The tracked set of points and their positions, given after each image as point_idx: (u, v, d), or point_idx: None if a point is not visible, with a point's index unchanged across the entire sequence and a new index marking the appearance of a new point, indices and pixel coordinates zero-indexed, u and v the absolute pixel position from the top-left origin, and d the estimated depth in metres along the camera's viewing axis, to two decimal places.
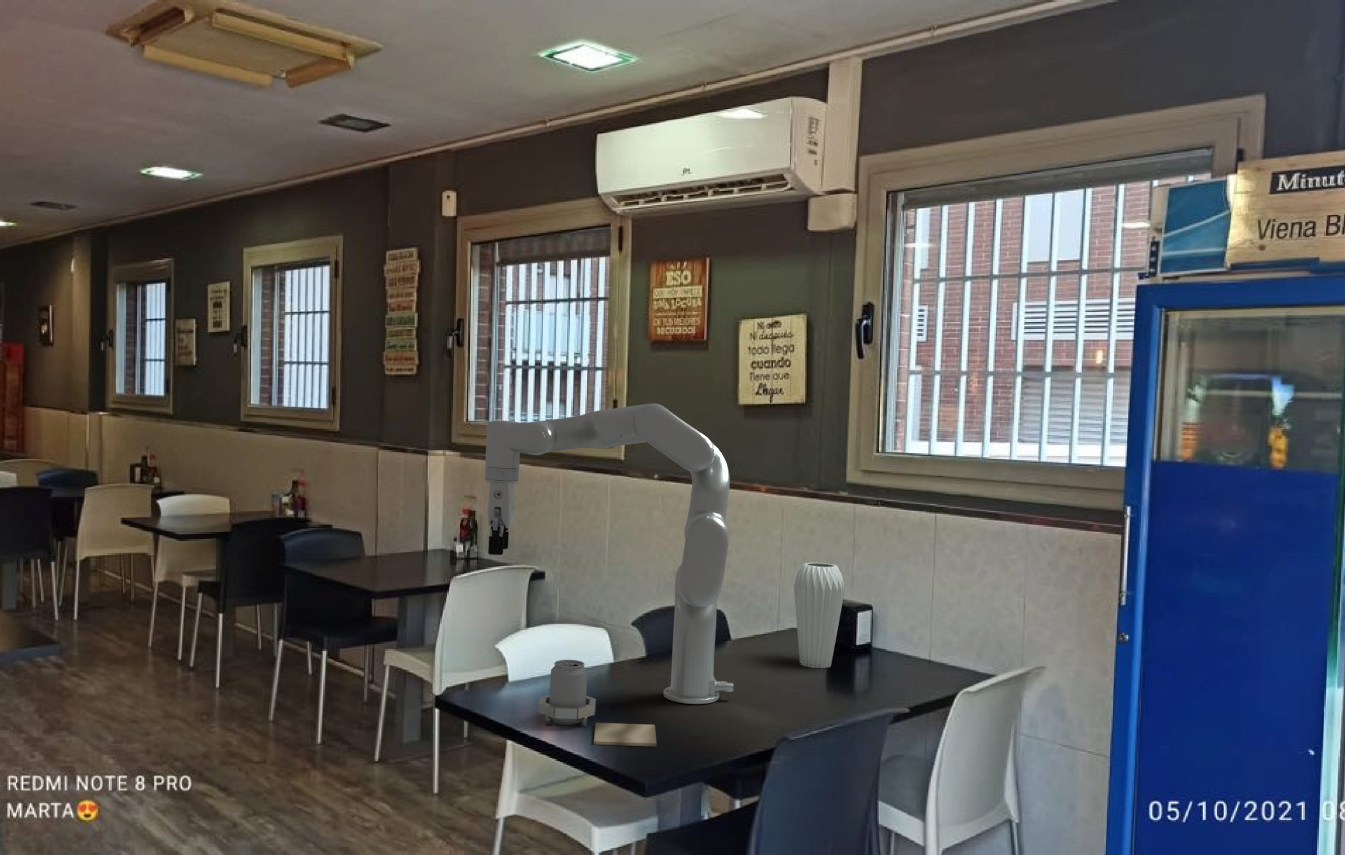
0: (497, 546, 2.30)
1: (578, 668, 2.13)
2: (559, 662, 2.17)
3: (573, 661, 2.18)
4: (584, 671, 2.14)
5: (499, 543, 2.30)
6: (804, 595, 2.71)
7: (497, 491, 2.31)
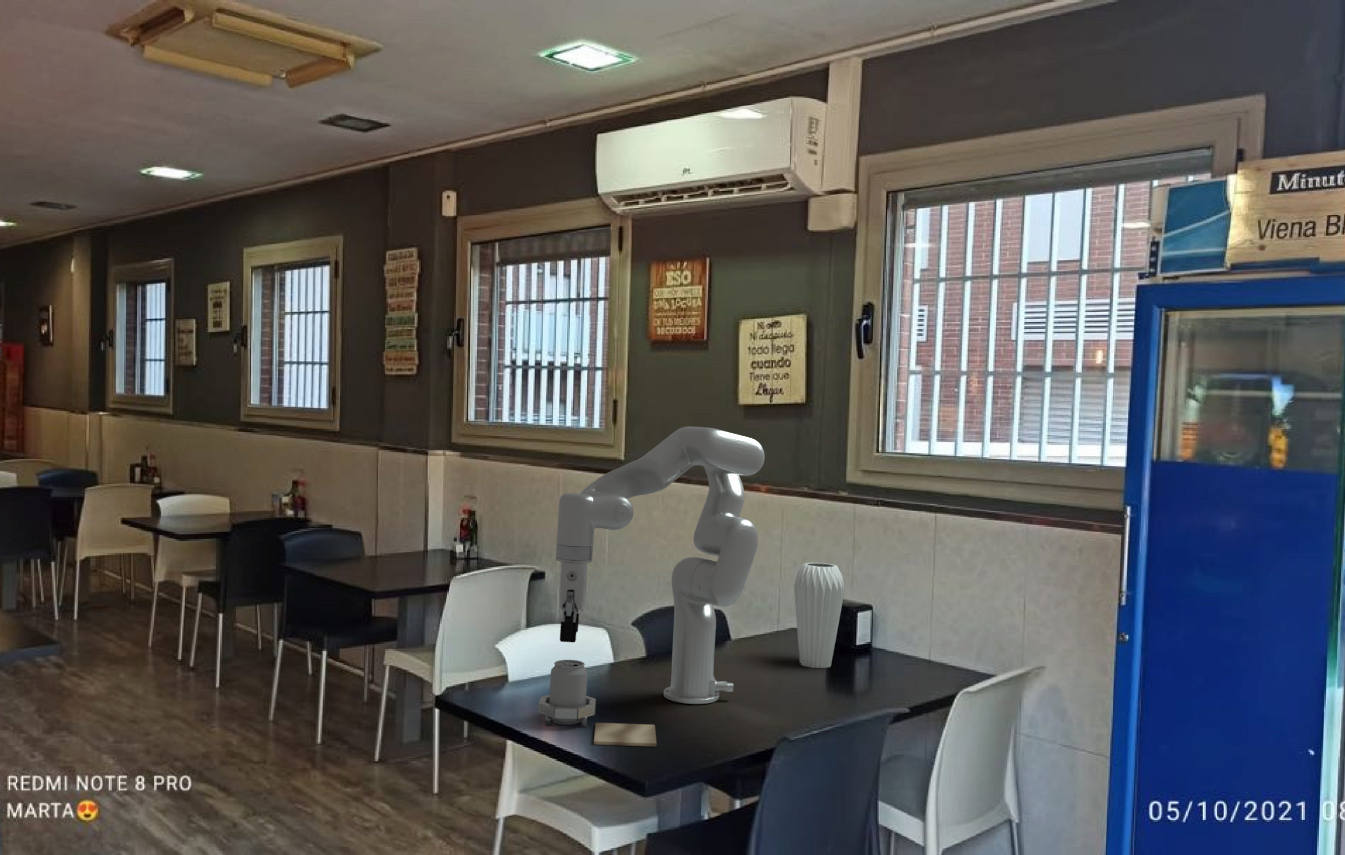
0: (570, 633, 2.09)
1: (578, 668, 2.13)
2: (559, 662, 2.17)
3: (573, 661, 2.18)
4: (584, 671, 2.14)
5: (572, 629, 2.10)
6: (804, 595, 2.71)
7: (570, 572, 2.11)
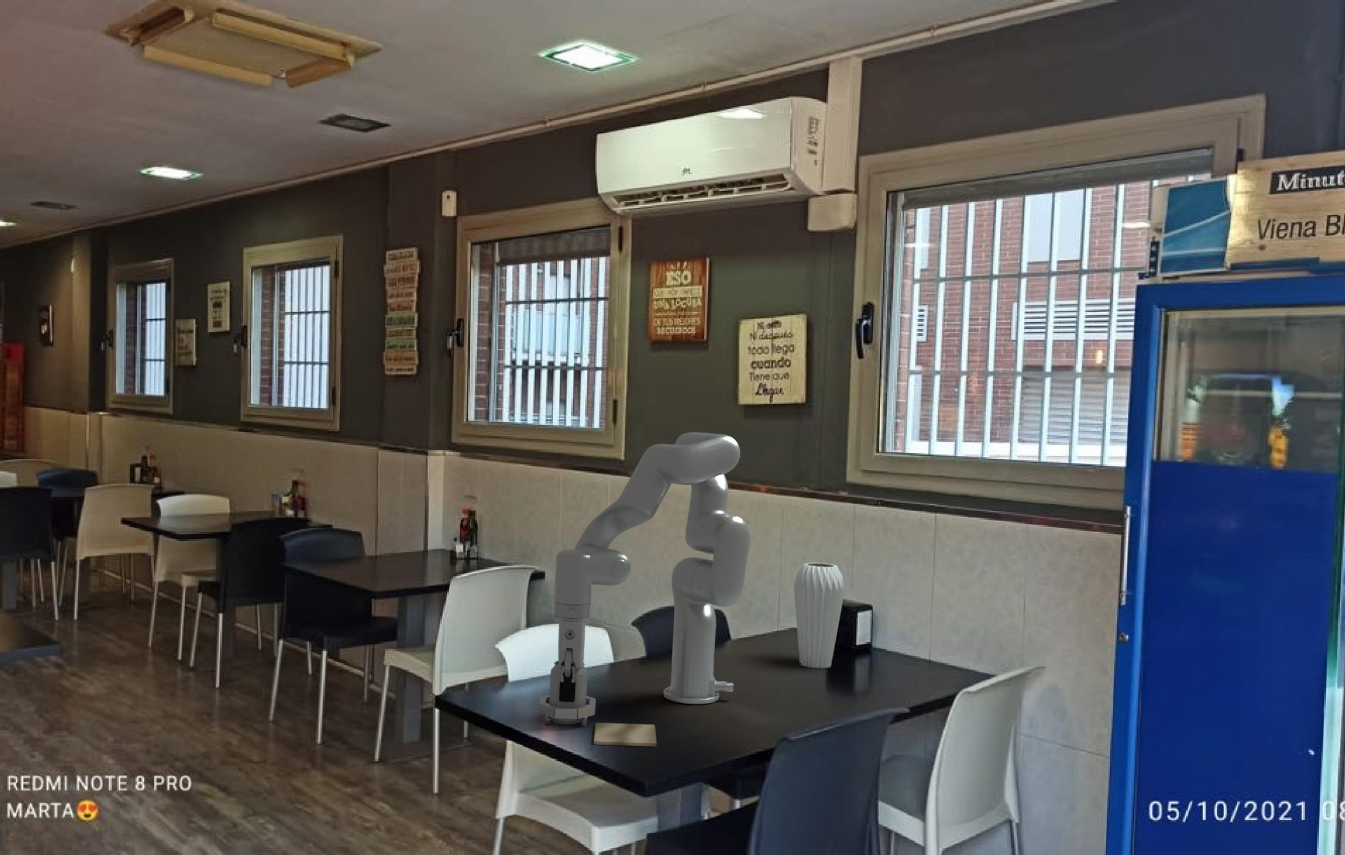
0: (569, 693, 2.10)
1: (578, 668, 2.13)
2: None
3: None
4: (584, 671, 2.14)
5: (571, 690, 2.11)
6: (804, 595, 2.71)
7: (568, 630, 2.12)
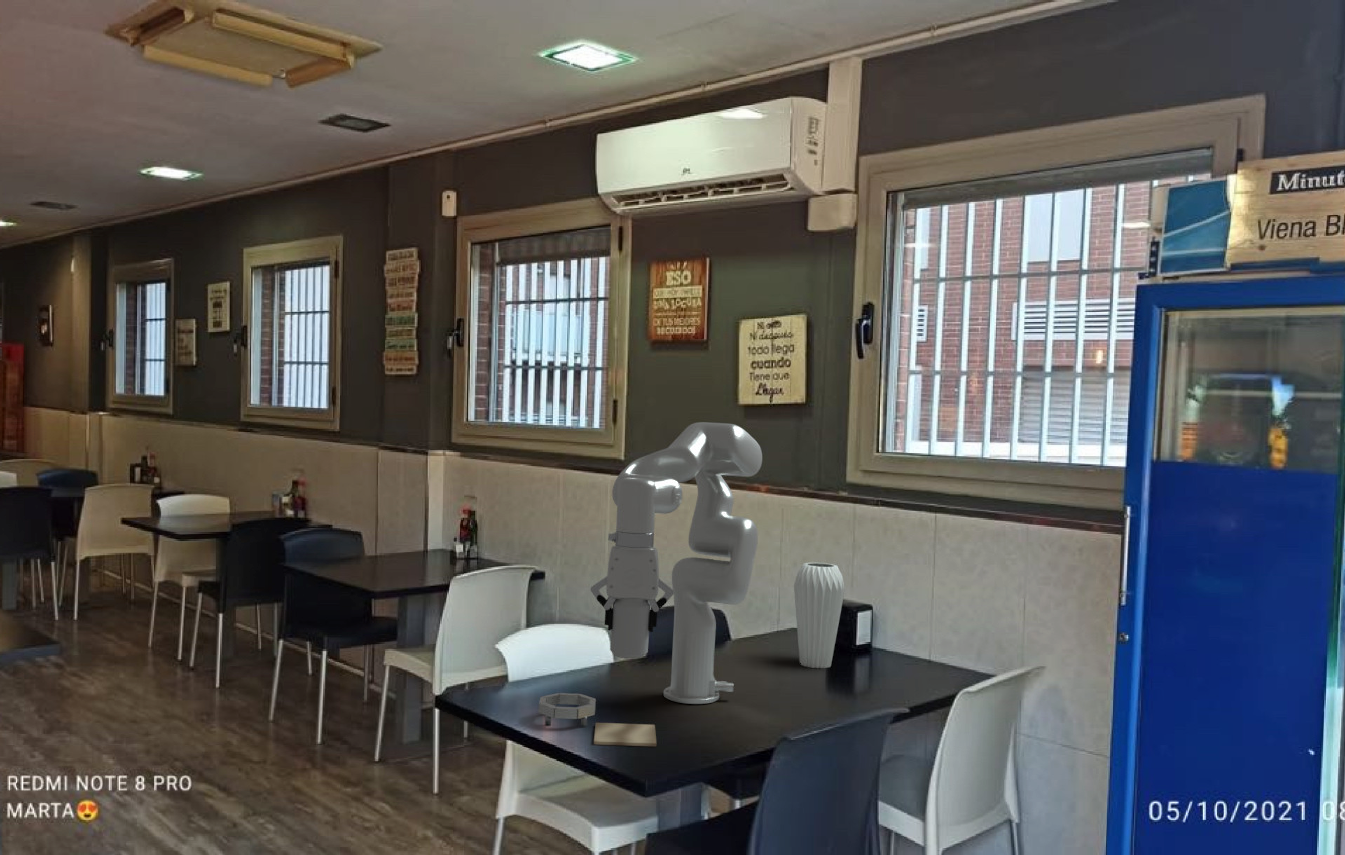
0: None
1: (620, 599, 2.05)
2: None
3: None
4: (625, 604, 2.04)
5: (606, 616, 2.06)
6: (804, 595, 2.71)
7: None
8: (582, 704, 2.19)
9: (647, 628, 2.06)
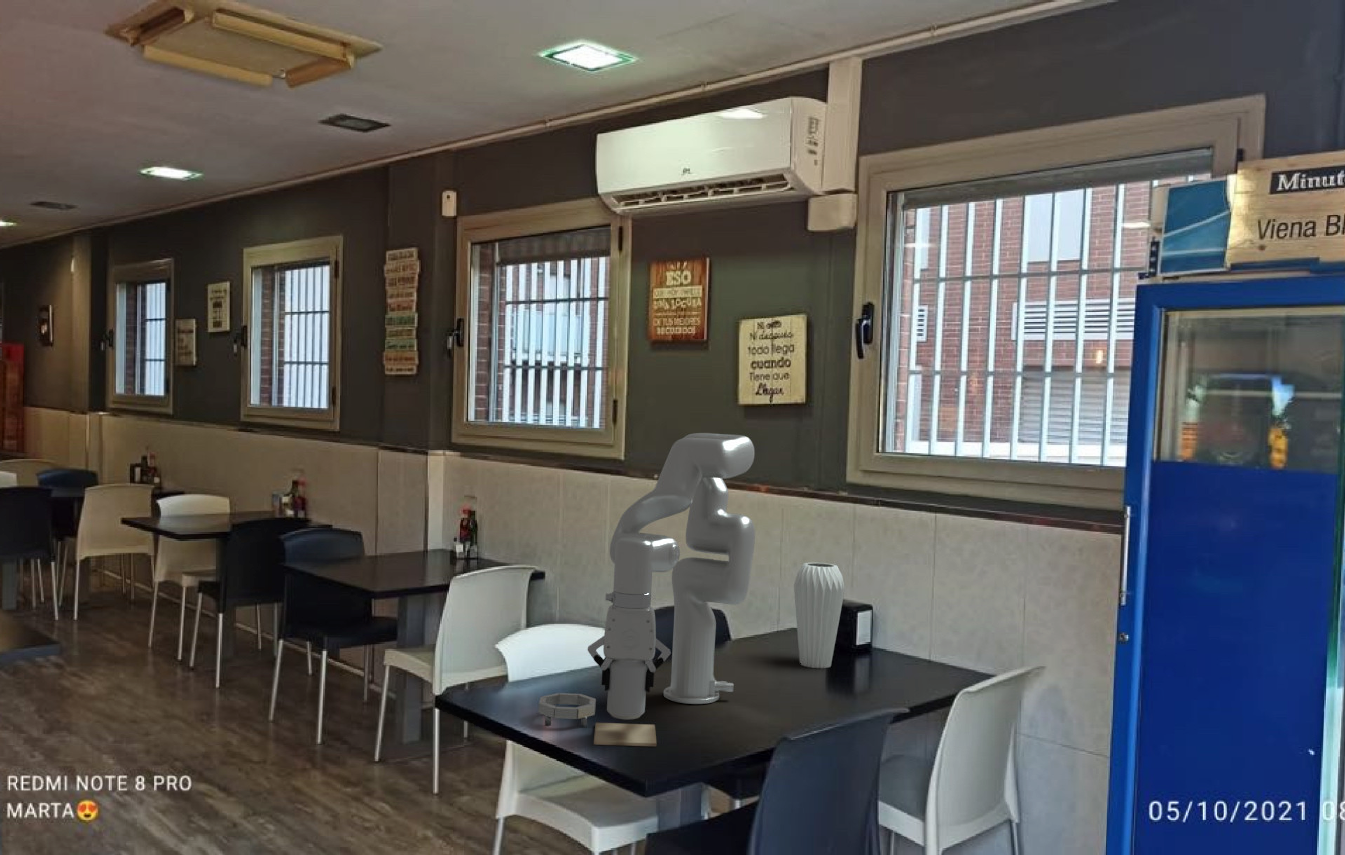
0: None
1: (617, 660, 2.05)
2: None
3: None
4: (621, 665, 2.04)
5: (603, 676, 2.06)
6: (804, 595, 2.71)
7: None
8: (582, 704, 2.19)
9: (644, 688, 2.06)
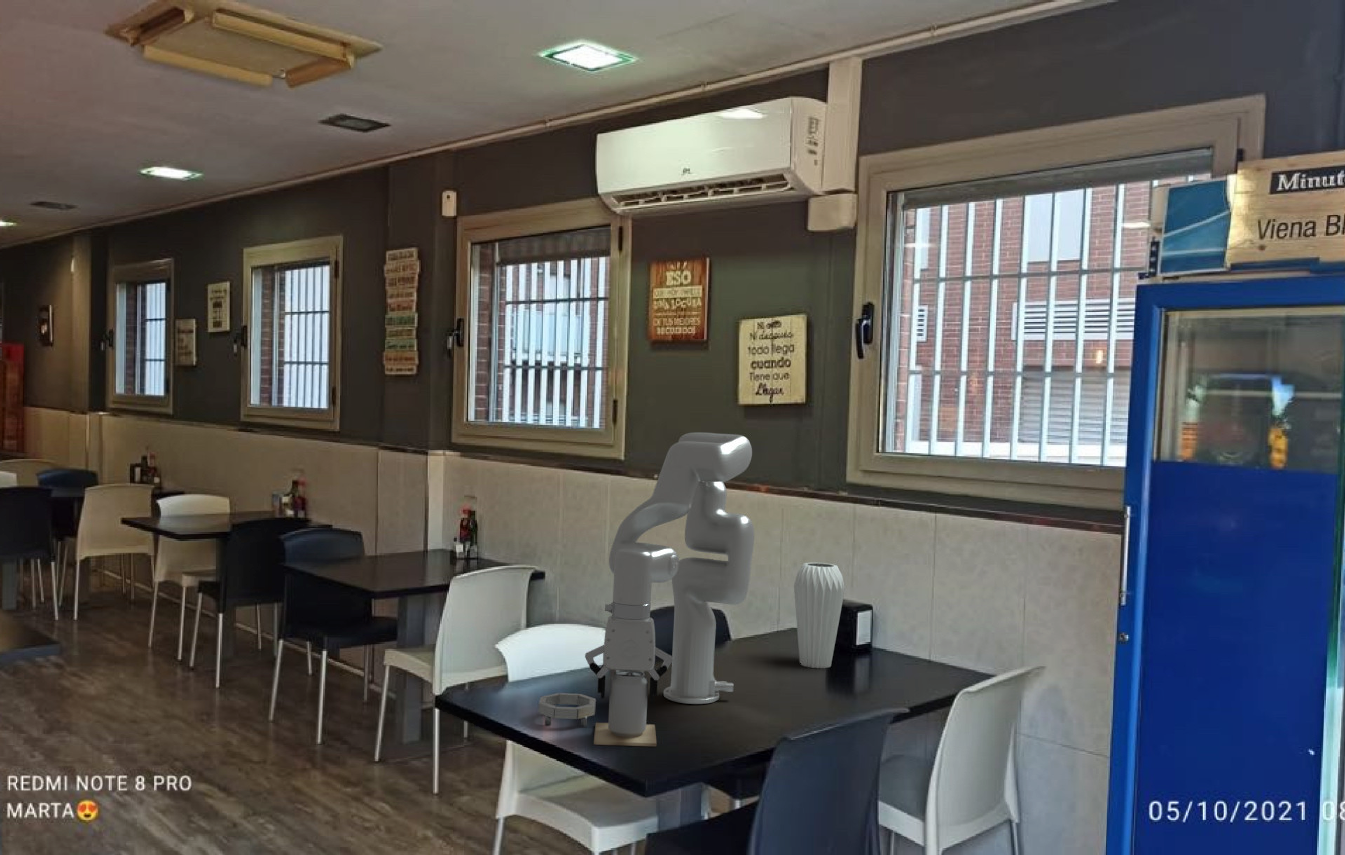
0: None
1: (618, 677, 2.05)
2: (637, 671, 2.10)
3: None
4: (622, 683, 2.04)
5: (599, 684, 2.06)
6: (804, 595, 2.71)
7: None
8: (582, 704, 2.19)
9: (645, 705, 2.06)
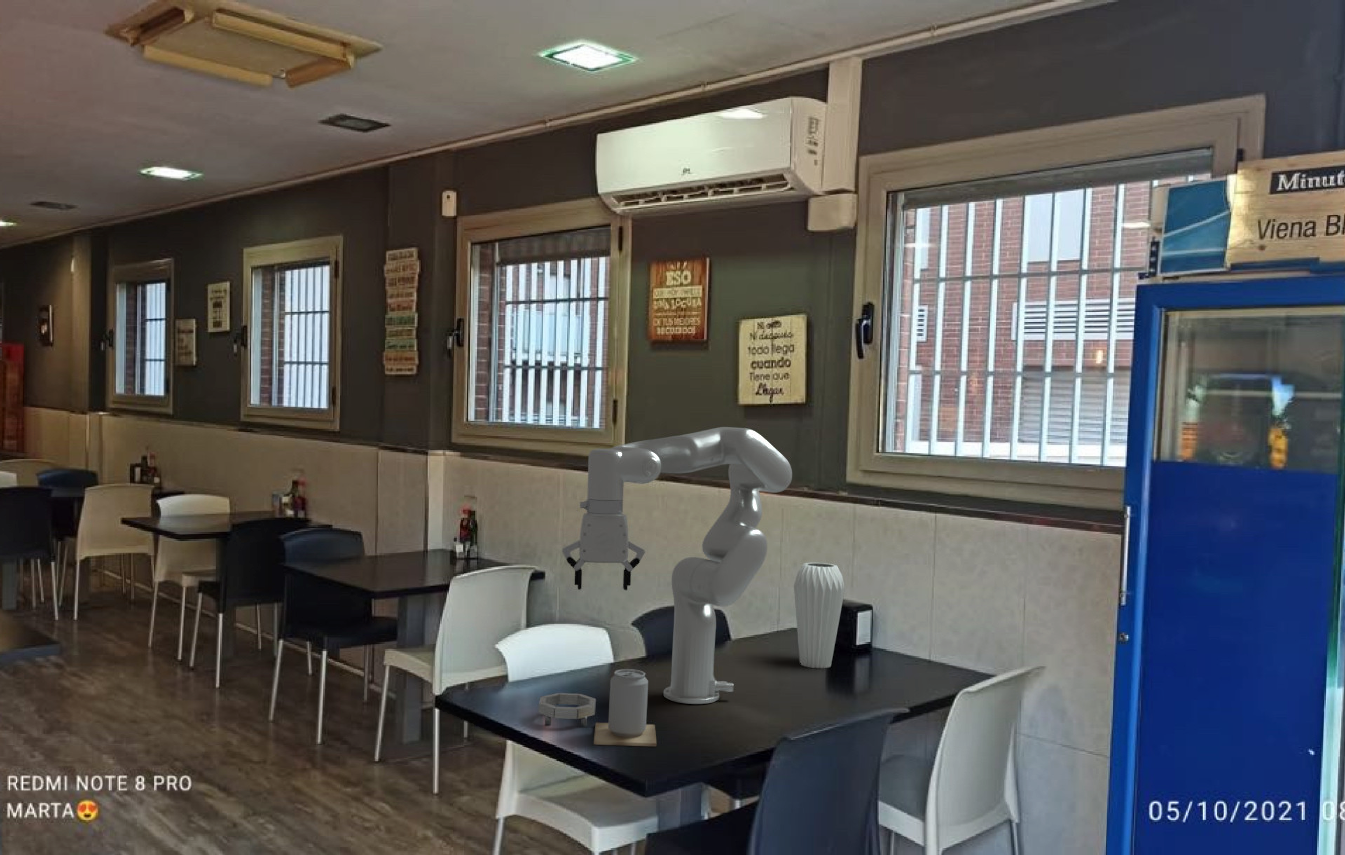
0: None
1: (618, 677, 2.05)
2: (637, 671, 2.10)
3: None
4: (622, 683, 2.04)
5: (576, 577, 2.19)
6: (804, 595, 2.71)
7: None
8: (582, 704, 2.19)
9: (645, 705, 2.06)
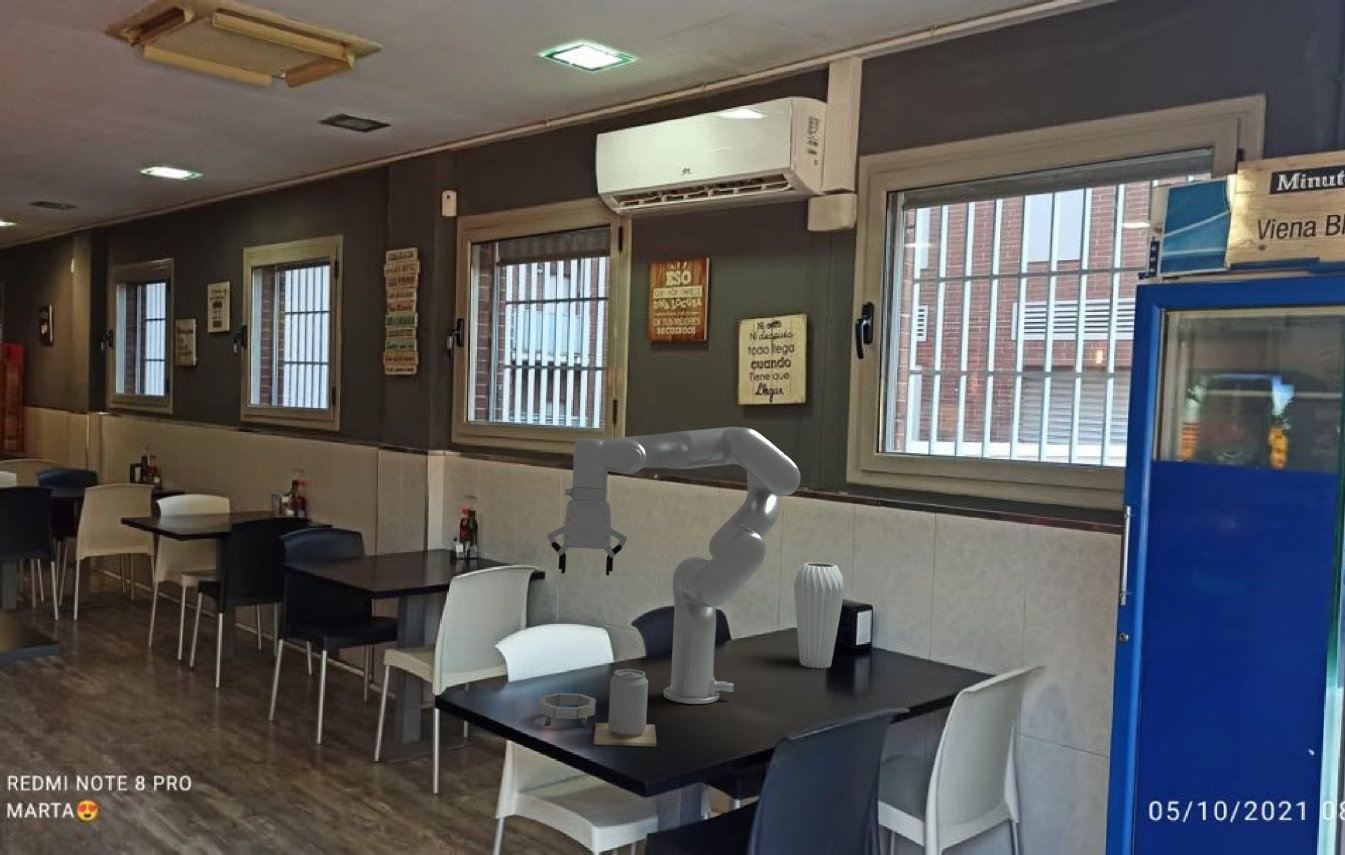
0: None
1: (618, 677, 2.05)
2: (637, 671, 2.10)
3: None
4: (622, 683, 2.04)
5: (560, 561, 2.27)
6: (804, 595, 2.71)
7: None
8: (582, 704, 2.19)
9: (645, 705, 2.06)
